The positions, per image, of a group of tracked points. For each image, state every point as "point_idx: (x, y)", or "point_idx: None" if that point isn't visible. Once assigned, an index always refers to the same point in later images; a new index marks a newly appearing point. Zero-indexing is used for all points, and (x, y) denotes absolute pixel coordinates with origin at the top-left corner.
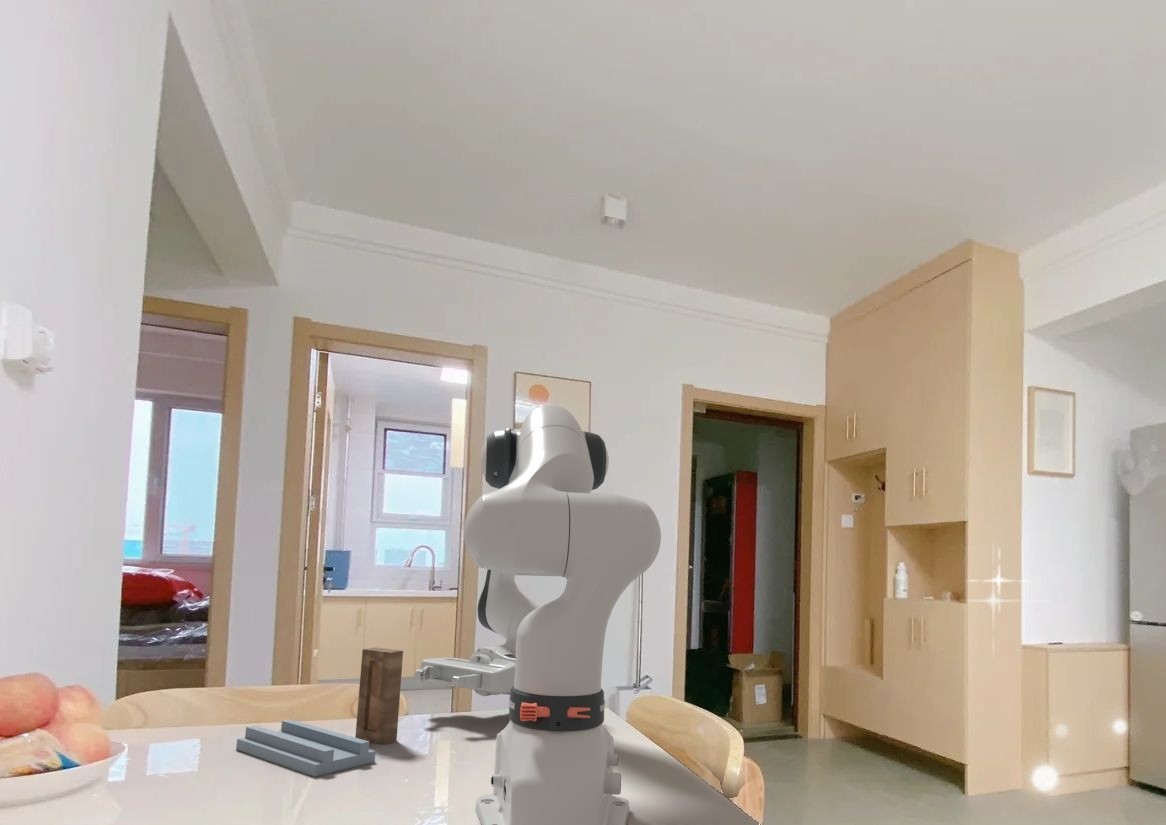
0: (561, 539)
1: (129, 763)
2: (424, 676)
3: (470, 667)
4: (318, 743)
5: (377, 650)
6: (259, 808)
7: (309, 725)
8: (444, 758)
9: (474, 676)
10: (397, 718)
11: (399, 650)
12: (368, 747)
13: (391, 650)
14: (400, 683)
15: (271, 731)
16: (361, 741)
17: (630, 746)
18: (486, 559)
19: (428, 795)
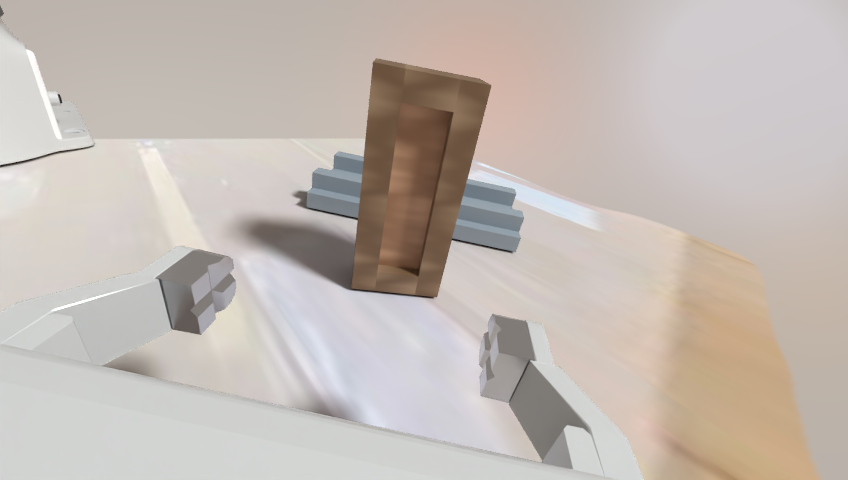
0: None
1: (523, 180)
2: (488, 360)
3: (74, 383)
4: None
5: (434, 70)
6: (329, 143)
7: (464, 203)
8: (186, 245)
9: (43, 303)
10: (355, 244)
11: (385, 64)
12: (312, 179)
13: (404, 66)
14: (363, 164)
15: (469, 182)
16: (324, 172)
17: None
18: None
19: (172, 160)
